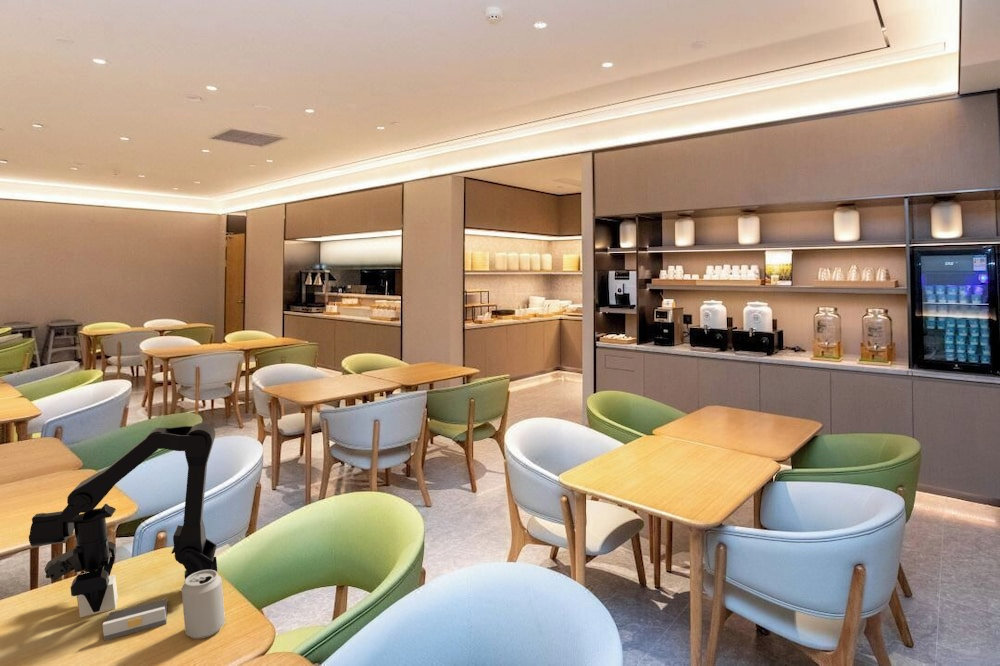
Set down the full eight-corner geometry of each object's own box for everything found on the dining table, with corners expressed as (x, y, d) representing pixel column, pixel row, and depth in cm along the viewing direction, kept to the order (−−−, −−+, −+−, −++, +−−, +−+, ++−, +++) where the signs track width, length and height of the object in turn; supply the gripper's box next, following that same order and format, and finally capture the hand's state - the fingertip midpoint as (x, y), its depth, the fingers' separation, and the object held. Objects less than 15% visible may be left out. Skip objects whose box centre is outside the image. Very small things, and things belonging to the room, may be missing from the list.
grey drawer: (167, 602, 130) (166, 588, 130) (165, 624, 122) (164, 609, 121) (109, 617, 125) (108, 602, 124) (104, 641, 117) (102, 625, 116)
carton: (117, 598, 132) (115, 574, 131) (115, 608, 128) (112, 583, 127) (82, 607, 129) (79, 582, 128) (79, 618, 125) (76, 592, 124)
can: (209, 643, 116) (204, 588, 114) (177, 639, 117) (171, 584, 116) (233, 620, 123) (228, 568, 121) (202, 616, 124) (198, 565, 123)
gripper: (55, 528, 131) (62, 592, 133) (35, 566, 114) (44, 637, 116) (113, 517, 136) (119, 578, 138) (102, 552, 120) (110, 620, 122)
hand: (98, 602), depth 128 cm, fingers open, 7 cm apart
